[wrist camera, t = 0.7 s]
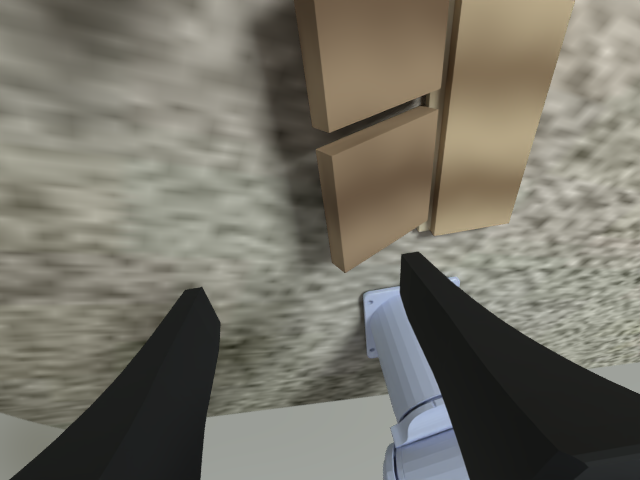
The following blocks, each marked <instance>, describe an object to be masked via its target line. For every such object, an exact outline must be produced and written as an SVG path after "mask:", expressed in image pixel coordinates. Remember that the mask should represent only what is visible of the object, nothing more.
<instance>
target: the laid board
mask: <svg viewBox="0 0 640 480" xmlns="http://www.w3.org/2000/svg"><path fill="white" fill-rule="evenodd" d="M574 3H575V0H449V10H448V20H447V30H446V40H445V50H444V60H443V71H442V81H441V88H440V89H438V90H435V91H433V92H430V93H428V94H426V104H425V107H429V108H434V109H439V111H438V121H437V131H436V141H435V151H434V161H433V171H432V181H431V191H430V201H429V211H428V220H427V221H426V222H424V223H422V224H421V225H419V226H418V227H416V228H417V230H418V232H422V231H428V230H430V231H431V232H432V234H433V235H434V236H437V235H443V234H449V233H455V232H461V231H466V230H472V229H478V228H484V227H490V226H495V225H501V224H507V223H509V221H510V217H511V214H512V211H513V207H514V204H515V201H516V197H517V194H518V191H519V187H520V184H521V180H522V177H523V174H524V170H525V167H526V164H527V160H528V157H529V154H530V150H531V147H532V144H533V140H534V137H535V134H536V130H537V127H538V123H539V120H540V117H541V113H542V110H543V107H544V103H545V100H546V97H547V93H548V90H549V87H550V83H551V80H552V77H553V73H554V70H555V67H556V63H557V60H558V56H559V53H560V50H561V46H562V43H563V40H564V36H565V33H566V30H567V26H568V23H569V20H570V16H571V13H572V10H573V6H574Z"/></svg>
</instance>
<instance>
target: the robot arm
mask: <svg viewBox="0 0 640 480" xmlns="http://www.w3.org/2000/svg"><path fill="white" fill-rule="evenodd" d="M459 285H460V280H459V279H458V278H457V277H448V278H447V277H446V276H445V275H444V274H443V273H442V272H440V271H439V270H438V269H437V268H436V267H435V266H434V265H433V264H432V263H431V262H429V261H428V260H427V259H426V258H425V257H424V256H423V255H422V254H421V253H419V252H413V253H407V254H401V273H400V286H396V287H391V288H385V289H379V290H373V291H368V292H366V293H364V295H363V304H364V318H365V333H366V347H367V356H368V357H369V358H377V357H379V361H380V364H381V368H382V372H383V375H384V379H385V382H386V386H387V389H388V393H389V396H390V400H391V404H392V407H393V411H394V413H395V416H396V419H397V422H398V424H396V425H394V426H392V427H391V428H390V429H391V432H392V436H393V440H394V443H391V444H390V445H389V446H388V447H387V450H386V453H385V460H384V464H383V480H640V394H638V393H636V392H634V391H632V390H629V389H627V388H625V387H623V386H620V385H618V384H616V383H614V382H612V381H609V380H607V379H605V378H603V377H601V376H599V375H597V374H595V373H593V372H591V371H589V370H587V369H585V368H583V367H581V366H579V365H577V364H575V363H573V362H571V361H570V360H568V359H566V358H564V357H562V356H560V355H559V354H557V353H555V352H553V351H552V350H550V349H548V348H546V347H544V346H543V345H541V344H539V343H537V342H536V341H534V340H532V339H531V338H529V337H527V336H526V335H524V334H522V333H521V332H519V331H518V330H516V329H515V328H513V327H512V326H510V325H508V324H507V323H505V322H504V321H502V320H501V319H500V318H498V317H497V316H495V315H494V314H493V313H491V312H490V311H488V310H487V309H486V308H484V307H483V306H482V305H480V304H479V303H478V302H476V301H475V300H474V299H473V298H471V297H470V296H469V295H468V294H466V293H465V292H464V291H463V290H461V289H460V288H459ZM219 342H220V321H219V319H218V317H217V315H216V313H215V311H214V309H213V307H212V305H211V303H210V301H209V299H208V297H207V295H206V293H205V292H204V290H203V288H202V287H200V288H194V289H188V290H185V291H184V292H183V294H182V295H181V296H180V298H179V299H178V300H177V302H176V303H175V304H174V306H173V307H172V309H171V310H170V311H169V313H168V314H167V315H166V317H165V318H164V319H163V321H162V322H161V324H160V325H159V326H158V328H157V329H156V330H155V332H154V333H153V334H152V336H151V337H150V338H149V339H148V341H147V342H146V343H145V345H144V346H143V347H142V348H141V350H140V351H139V352H138V353H137V354H136V356H135V357H134V358H133V359H132V361H131V362H130V363H129V364H128V365H127V367H126V368H125V369H124V370H123V371H122V373H121V374H120V375H119V376H118V377H117V378H116V379H115V381H114V382H113V383H112V384H111V385H110V386H109V387H108V388H107V389H106V390H105V391H104V392H103V393H102V395H101V396H100V397H99V398H98V399H97V400H96V401H95V402H94V403H93V404H92V405H91V406H90V407H89V408H88V409H87V410H86V411H85V412H84V413H83V414H82V415H81V416H80V417H79V418H78V419H77V420H76V421H75V422H73V423H72V424H71V425H70V426H69V427H68V428H67V429H66V430H65V431H64V432H63V433H62V434H61V435H60V436H59V437H58V438H57V439H56V440H55V441H54V442H52V443H51V444H50V445H49V446H48V447H47V448H46V449H45V450H43V451H42V452H41V453H40V454H39V455H38V456H37V457H36V458H34V459H33V460H32V461H31V462H30V463H29V464H27V465H26V466H25V467H24V468H23V469H22V470H20V471H19V472H18V473H17V474H16V475H14V476H13V477H12V478H11V479H10V480H200V478H201V463H202V451H203V439H204V430H205V422H206V416H207V410H208V405H209V400H210V394H211V389H212V384H213V379H214V374H215V369H216V363H217V358H218V352H219Z"/></svg>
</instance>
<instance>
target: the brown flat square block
mask: <svg viewBox="0 0 640 480" xmlns="http://www.w3.org/2000/svg"><path fill="white" fill-rule="evenodd" d="M438 111H439V109H434V108H429V107H424V106H418V107H416V108H413V109H411V110H409V111H406V112H404V113H401V114H399V115H397V116H394V117H392V118H389V119H387V120H385V121H382V122H380V123H377V124H375V125H373V126H370V127H368V128H365V129H363V130H361V131H358V132H356V133H353V134H351V135H349V136H346V137H344V138H341V139H339V140H337V141H334V142H332V143H329V144H327V145H325V146H322V147H320V148H317V149H316V156H317V162H318V169H319V176H320V183H321V190H322V197H323V204H324V210H325V217H326V224H327V231H328V238H329V245H330V251H331V258H332V263H333V264H334V265H336V266H337V267H338V268H339V269H341V270H342V271H343V272H344V273H346V272H348V271H349V270H351V269H352V268H354V267H356V266H357V265H359V264H360V263H362V262H363V261H365V260H366V259H368V258H370V257H371V256H373V255H374V254H376V253H377V252H379V251H380V250H382V249H384V248H385V247H387V246H388V245H390V244H391V243H393V242H394V241H396V240H398V239H399V238H401V237H402V236H404V235H405V234H407V233H408V232H410V231H412V230H413V229H415V228H416V227H418V226H419V225H421V224H422V223H424V222H426V221H427V220H428V211H429V201H430V191H431V181H432V171H433V161H434V151H435V141H436V131H437V121H438Z"/></svg>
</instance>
